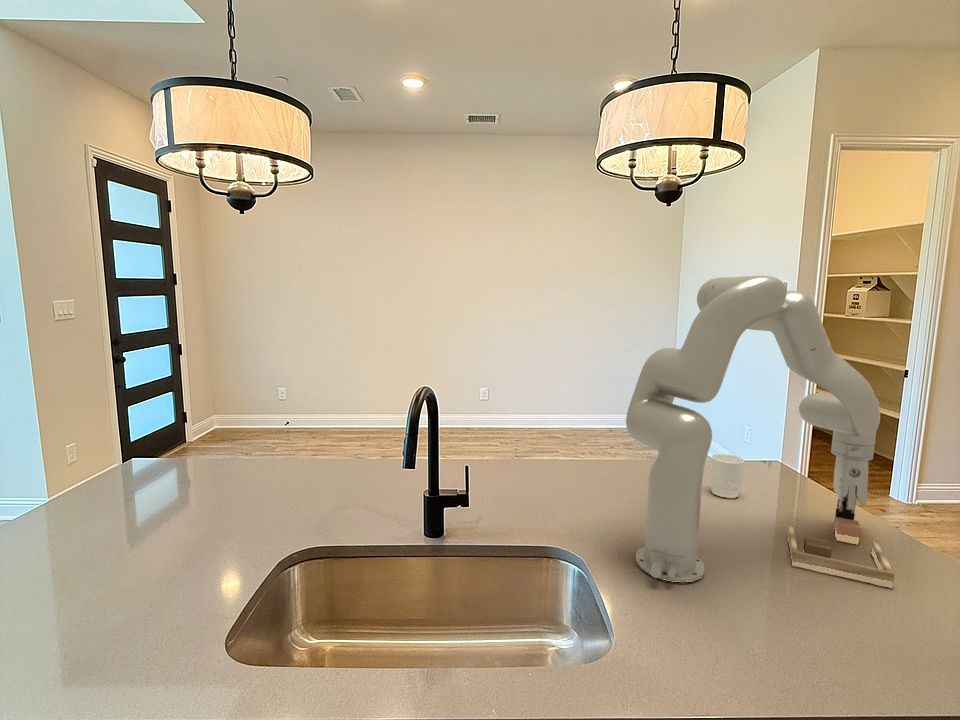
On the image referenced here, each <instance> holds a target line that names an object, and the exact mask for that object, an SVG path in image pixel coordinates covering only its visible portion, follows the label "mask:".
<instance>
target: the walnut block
mask: <svg viewBox="0 0 960 720" xmlns="http://www.w3.org/2000/svg"><path fill="white" fill-rule="evenodd" d="M803 549H804V553H808V554H813V555H817V556H822V557H827V558H831V556H832V547H831V545H830V542H829V540H826V539H821V538H817V537H810V536H804V538H803V546H802V550H803ZM831 559H832V558H831Z"/></svg>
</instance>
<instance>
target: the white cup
mask: <svg viewBox="0 0 960 720" xmlns="http://www.w3.org/2000/svg"><path fill="white" fill-rule="evenodd" d="M710 457H711V458H710V486H711V489H712V490H713V491H714V492H717V493H720V494H725V495H735V494H738V493H739V494H740V490H741V486H742V480H743V473H744V465H745V460H744V459H743V458H742V457H740V456H737V455H733V454H726V453H714V454H712V455H711V456H710ZM711 489H710V490H711Z"/></svg>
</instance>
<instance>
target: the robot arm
mask: <svg viewBox="0 0 960 720" xmlns="http://www.w3.org/2000/svg"><path fill="white" fill-rule="evenodd" d="M696 304H697V307H698V308H699V310H700V311H699V312H698V314H697V315H696V316H695V318H694V320H693V322H692V323H691V326H690V328H689V330H688V332H687V335H686V338H685V340H684V343H683V345H682V346H681V348H675V347H664V348H660V349H658V350H656V351H654V352H653V353H651V354H650V355H649V357H648V358H647V359H646V361H645V362H644V364H643V365H642V369H641V370H640V373H639V376H638V379H637V382H636V384H635V388H634V391H633V393H632V396H631V400H630V402H629V406H628V408H627V413H626V416H625V417H626V418H625V427H626V429H627V432H628V434H629V436H630V437H631V438H632V439H634V440H635V441H637V442H638V443H640V444H641V445H642V444H643V445H645V446H647V447H650V448H652V449H654V450H655V451H657V452H658V454H657V457H656V459H655V460H654V462H653V464H652V466H651V467H650V470H649V474H648V483H647V486H648V487H647V488H648V489H647V499H646V501H647V502H646V503H647V504H646V515H645V518H646V519H645V532H644V533H645V535H644V546H643V547H640V548H639V549H638V550H637V551H636V553H635V563H636V562H637V563H636V565H637V564H638V565H639V566H640V567H641V568H642V569H643V570H644V571H646V572H648V573H649V574H651V577H652V578H655V579H657V578H661V579H666V580H670V581H678V582H679V581H680V582H686V581H693V580H697V579H699V578H701V577H702V576H703V575H705V571H706V569H705V564H704V562H703V561H702V560H701V559H700V558H699V557H698V556H697V554H698V545H699V544H698V543H699V530H700V519H701V507H702V506H701V504H702V493H703V492H702V491H703V490H702V489H703V481H704V480H703V478H704V472H705V467H706V461H707V458H708V454H709V452H710V448H711V445H712V440H713V430H712V427H711V424H710V422H709V421H708V420H707V419H706V417H704V416H703V415H702V414H701V413H700V412H697V411H696V410H694V409H691V408H689V407H685V406H682V405H678V404H675V403H674V400H675V398H677V399H680V400H685V401H688V402H692V403H696V404H697V403H699V404H702V403H703V404H705V403H709V402H711V401H712V400H714V399H715V398H716V397H717V395H718V393H719V391H720V390H721V387H722V384H723V382H724V379H725V376H726V374H727V371H728V368H729V364H730V363H731V359H732V356H733V354H734V350H735V348H736V346H737V344H738V341H739V339H740V338H741V336H742V335H743V334H744V332H746V330H752V331H765V332H771V333H772V334H773V336H774V338H775V340H776V343H777V345H778V347H779V349H780V352H781V354H782V357H783V359H784V362H785V364H786V366H787V368H789V369H790V370H791V371H792V372H794V373H795V374H797V375H799V376H800V377H802V378H803V379H805V380H808V381H809V382H811V383H813V384H815V385H817V386H819V387H821V388H823V389H825V391H828V392H829V393H827V392H813V393H810V394H809V395H806V396H805V397H804V398H803V399H802V400H801V401H800V403H799V407H798V413H799V416H800V417H801V419H802V420H803V421H804V422H805V423H807V424H809V425H811V426H814V427H817V428H821V429H824V430H825V429H826V430H829V431H832V440H831V449H830V450H831V451H830V452H831V454H833V456H836V457H835V462H834V463H835V464H834V470H833V471H834V472H833V473H834V474H833V490H834V492H835V495H836V497H837V499H836V500H837V501H836V508H835V514H834V515H835V516H834V521H835V520H836V517H839V518H844V519H850V520H855V514H856V513H855V512H856V505H857V500H858V503H860V505H861V506H865V505H867V502H868V501H867V500H868V488H869V487H868V486H869V485H868V484H869V461H872V460H873V459H874V455H875V454H874V451H875V446H876V445H875V444H876V437H877V436H876V435H877V431H878V429H879V426H880V423H881V412H880V401H879V399H878V398H877V397H876V394H875V392H874V390H873V388H872V386H871V384H870V382H869V381H868V380H867V379H866V378H865V377H864V375H862V374H861V373H860V372H859V371H857V369H855V367H854V366H852V365H851V364H850V363H848V361H846V360H845V359H843V358H842V356H840V355H839V354H837V353H836V352H835V351H834V350H833V348H832V345H831V341H830V338H829V337H828V335H827V331H826V329H825V327H824V324H823V322H822V319H821V316H820V314H819V311H818V309H817V307H816V304H815V302H814V300H813V298H811V295H809V294H807V293H805V292H803V291H796V290H788V289H787V286H786V284H785V283H784V282H783V281H782V280H780V279H779V278H777V277H774V276H770V275H746V276H745V275H744V276H727V277H723V276H722V277H715V278H711V279H709V280H706V281H705V283H703V284H702V285H701V286H700V288H699V289H698V291H697V295H696ZM638 565H637V566H638ZM639 566H638V567H639ZM640 567H639V568H640ZM641 568H640V569H641ZM642 569H641V570H642ZM643 570H642V571H643ZM644 571H643V572H644ZM649 574H648V575H649ZM703 577H704V576H703ZM703 577H702V578H703ZM702 578H701V579H702Z"/></svg>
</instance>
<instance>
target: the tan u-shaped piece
mask: <svg viewBox="0 0 960 720" xmlns="http://www.w3.org/2000/svg"><path fill="white" fill-rule="evenodd" d="M794 529H795V528H794V525H793V524H790V523H788V525H787V533H788V537H789V544H790V550H791V556H792V561H793V562H799V563H805V564H809V565H815V566H821V567H826V568H831V569H835V570H839V571H843V572H847V573H852V574H857V575H862V576H866V577H871V578H877V579H881V580H887V581H891V582H893V583H894V579H895V572H894V570H893V569H892V566H891V565H890V563H889V560H888V559H887V557H886V555H885V553H884V552H883V550H882V548H881V546H880V544H879V543H878V541H877V540H873V539H872V541H871V546H872V548H873V550H874V552H875V554H876V556H877V559H878V561H879V563H880V565H881V567H882V569H878V568H877V567H872V566H867V565H862V564H859V563H855V562H854V563H853V562H850V561H849V562H848V561H844V560H839V559H835V558H827V557H822V556H817V555H813V554H808V553H803V551H799V550H798V545H797V541H796V535H795V530H794Z"/></svg>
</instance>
